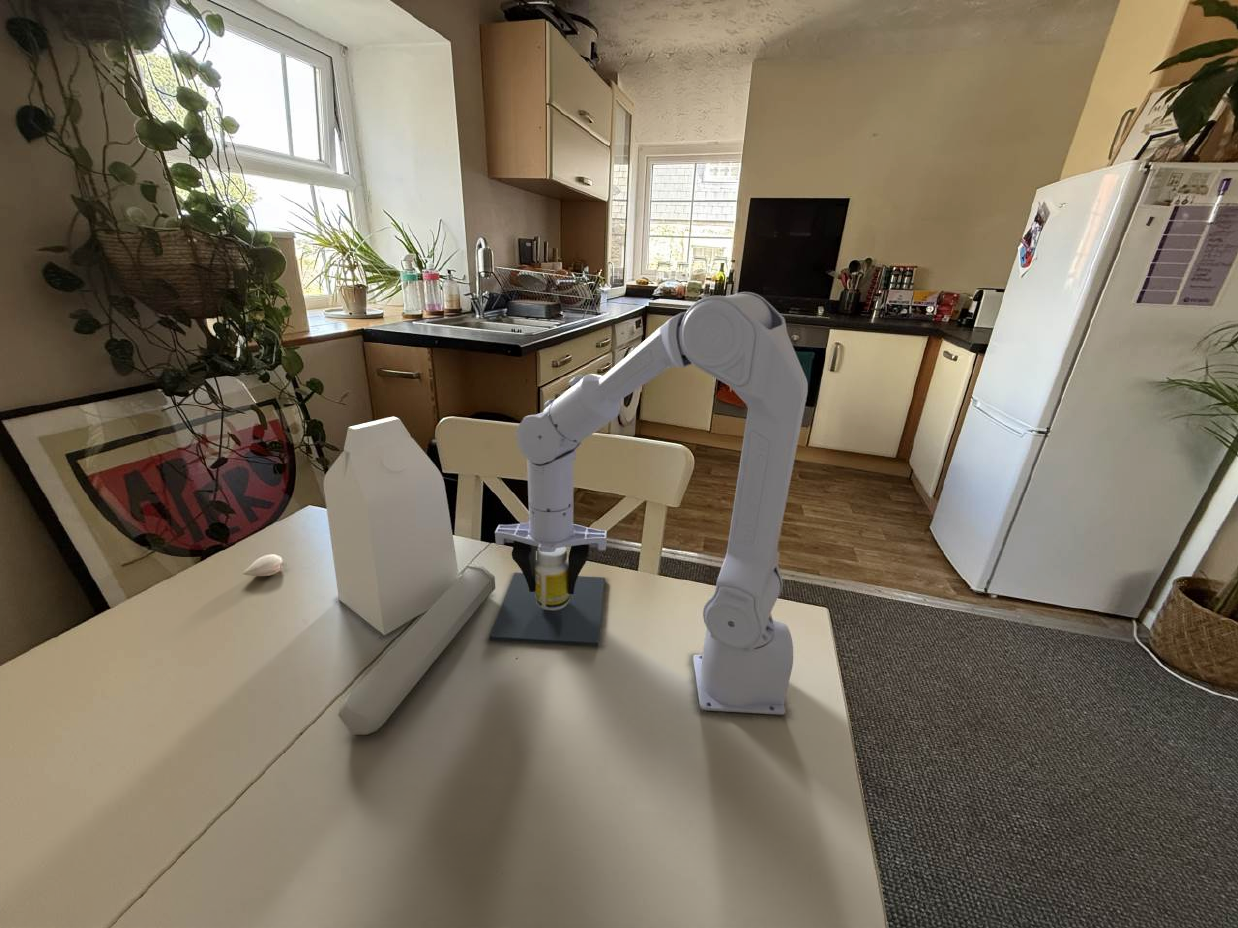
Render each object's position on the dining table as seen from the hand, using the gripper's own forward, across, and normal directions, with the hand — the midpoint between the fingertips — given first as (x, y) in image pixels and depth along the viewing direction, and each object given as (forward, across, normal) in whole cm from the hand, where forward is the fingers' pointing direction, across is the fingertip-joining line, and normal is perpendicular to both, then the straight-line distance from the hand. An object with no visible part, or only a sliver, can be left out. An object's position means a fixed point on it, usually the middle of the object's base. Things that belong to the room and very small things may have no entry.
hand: (552, 588), depth 69 cm
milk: (+3, -22, +1) cm, 22 cm away
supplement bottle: (+2, 0, 0) cm, 2 cm away
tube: (+3, -14, -10) cm, 17 cm away
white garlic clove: (+3, -44, +4) cm, 44 cm away
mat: (+3, 0, 0) cm, 3 cm away
